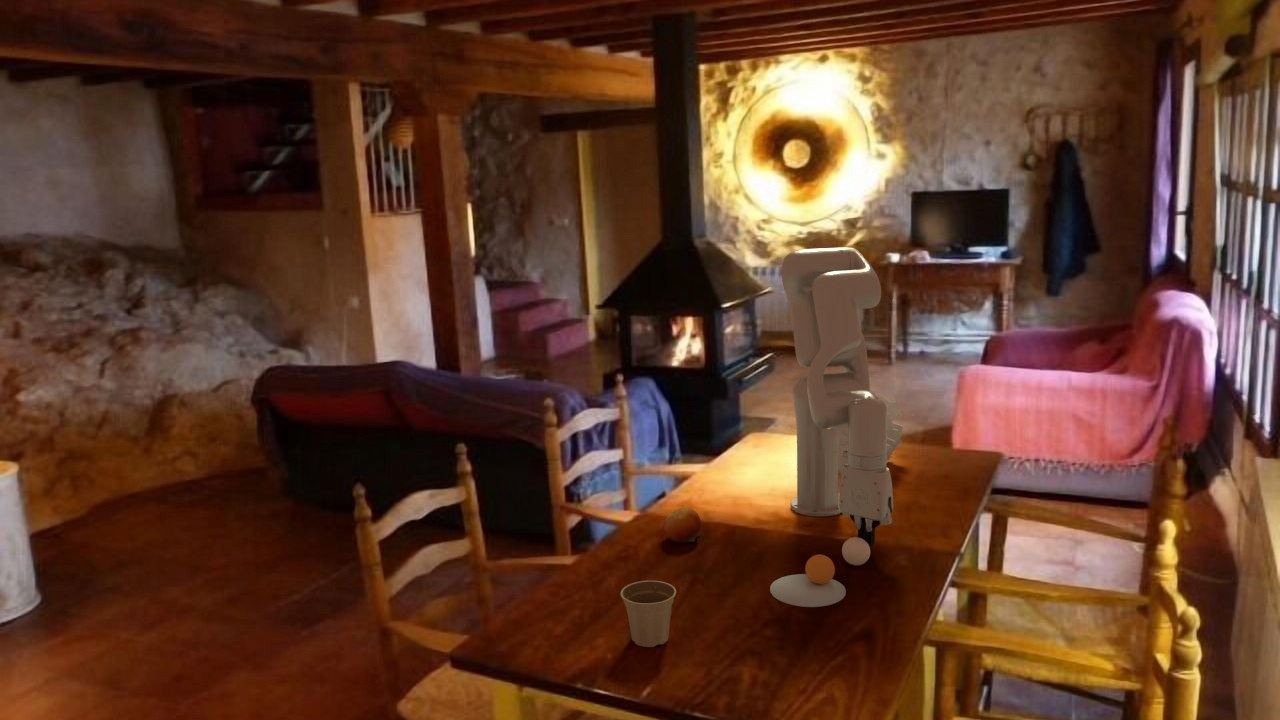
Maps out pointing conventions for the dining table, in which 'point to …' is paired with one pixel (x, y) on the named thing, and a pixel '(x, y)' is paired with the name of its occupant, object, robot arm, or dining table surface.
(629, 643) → the dining table surface
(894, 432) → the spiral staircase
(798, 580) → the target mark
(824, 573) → the orange ball
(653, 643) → the flower pot
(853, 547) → the cue ball
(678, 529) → the fruit
